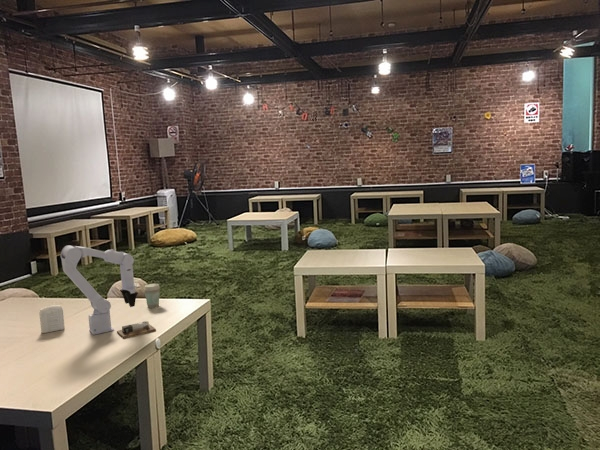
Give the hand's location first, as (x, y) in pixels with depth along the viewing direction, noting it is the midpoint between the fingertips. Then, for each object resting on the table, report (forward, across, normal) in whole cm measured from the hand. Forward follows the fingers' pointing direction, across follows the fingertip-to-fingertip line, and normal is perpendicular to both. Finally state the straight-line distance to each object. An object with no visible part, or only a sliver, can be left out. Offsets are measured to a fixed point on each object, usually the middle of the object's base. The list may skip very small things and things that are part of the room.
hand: (130, 304), depth 249 cm
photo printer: (+10, +15, +33) cm, 38 cm away
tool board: (+9, -15, +2) cm, 17 cm away
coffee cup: (+10, +21, -18) cm, 29 cm away
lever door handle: (+8, -15, +2) cm, 17 cm away
